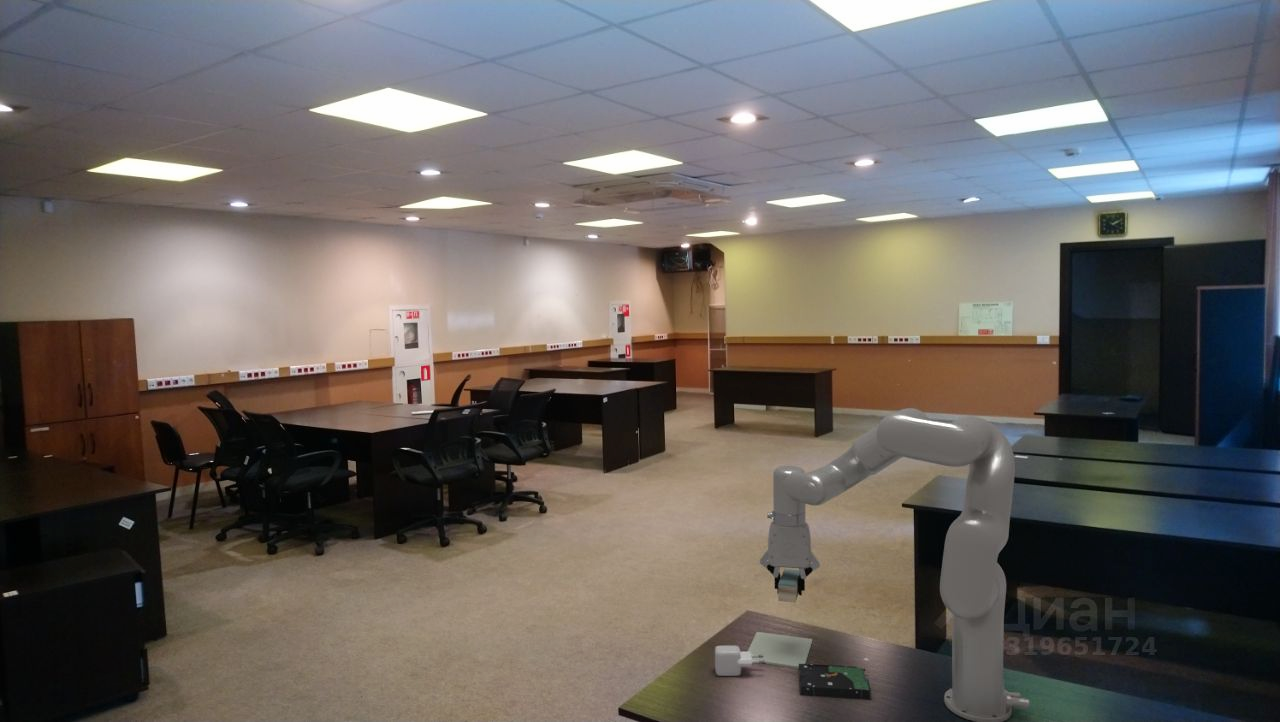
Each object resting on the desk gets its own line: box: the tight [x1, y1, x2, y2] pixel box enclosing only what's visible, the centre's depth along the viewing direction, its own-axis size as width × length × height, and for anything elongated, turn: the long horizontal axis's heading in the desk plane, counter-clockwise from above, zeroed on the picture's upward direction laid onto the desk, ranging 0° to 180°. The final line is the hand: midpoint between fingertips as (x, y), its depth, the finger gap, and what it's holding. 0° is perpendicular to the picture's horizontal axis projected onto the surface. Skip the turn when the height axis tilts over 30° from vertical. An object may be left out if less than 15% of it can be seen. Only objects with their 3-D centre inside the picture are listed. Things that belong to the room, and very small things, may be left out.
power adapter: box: [714, 645, 765, 677], centre depth 166 cm, size 11×5×6 cm, turn 87°
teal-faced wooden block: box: [777, 568, 800, 603], centre depth 175 cm, size 10×4×4 cm, turn 161°
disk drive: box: [798, 663, 872, 701], centre depth 160 cm, size 10×3×15 cm
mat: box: [746, 631, 814, 670], centre depth 177 cm, size 14×15×1 cm
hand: (789, 591), depth 175 cm, fingers closed on teal-faced wooden block, 4 cm apart
